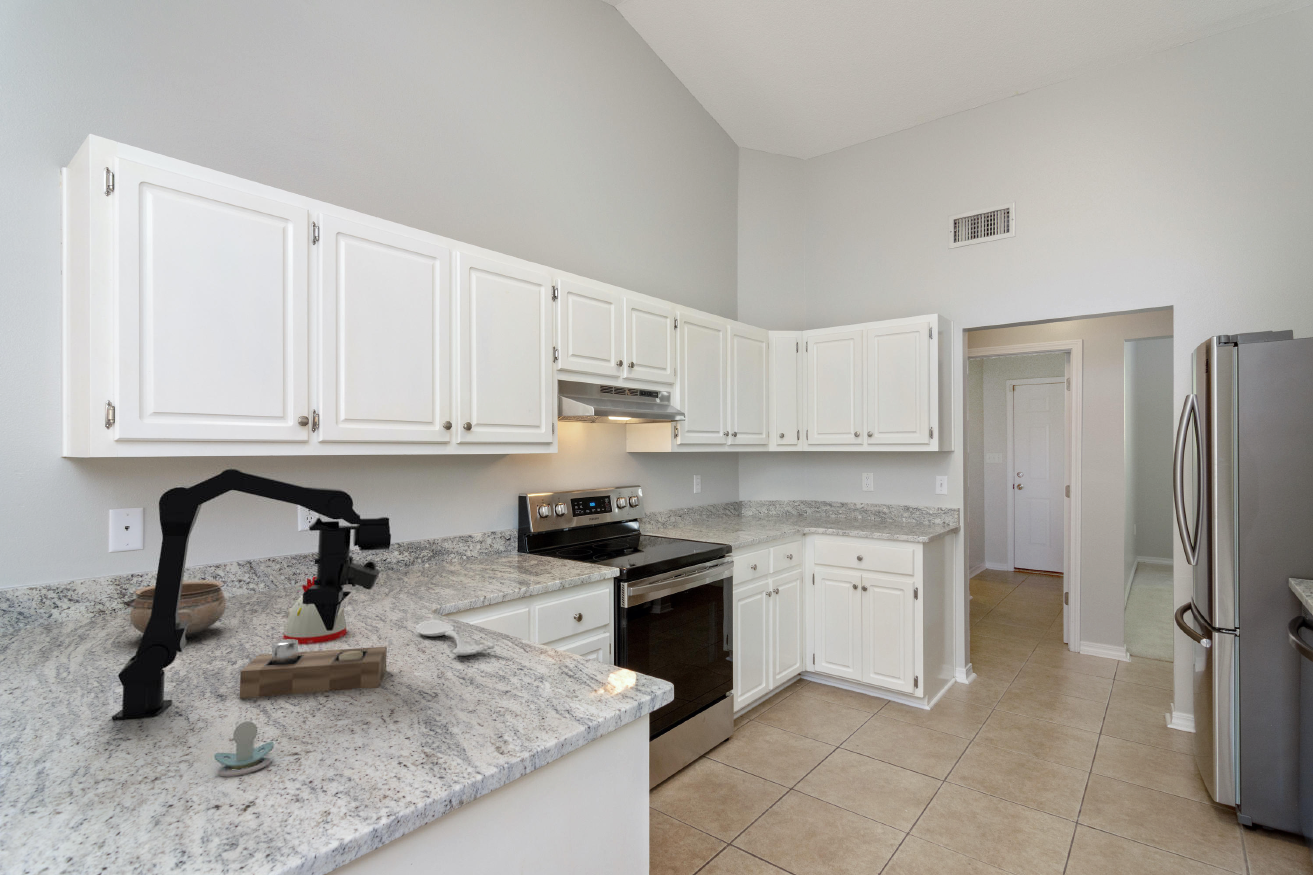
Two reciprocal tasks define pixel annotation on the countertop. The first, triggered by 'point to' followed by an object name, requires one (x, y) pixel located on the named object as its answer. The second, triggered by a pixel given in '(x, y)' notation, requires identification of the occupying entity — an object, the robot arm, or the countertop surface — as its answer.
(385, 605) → the countertop surface
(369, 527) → the robot arm
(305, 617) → the kitchen timer
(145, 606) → the cooking pot
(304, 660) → the walnut block
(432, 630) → the spoon
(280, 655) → the steel peg
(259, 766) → the pacifier
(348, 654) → the birch peg
